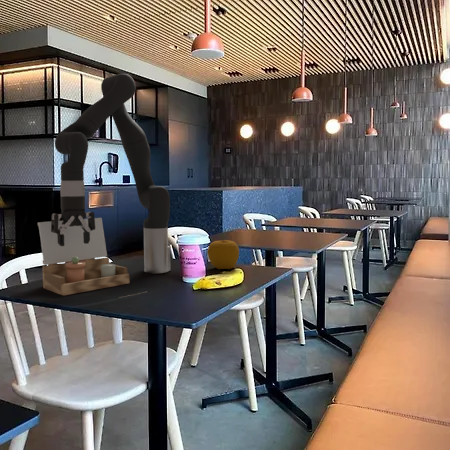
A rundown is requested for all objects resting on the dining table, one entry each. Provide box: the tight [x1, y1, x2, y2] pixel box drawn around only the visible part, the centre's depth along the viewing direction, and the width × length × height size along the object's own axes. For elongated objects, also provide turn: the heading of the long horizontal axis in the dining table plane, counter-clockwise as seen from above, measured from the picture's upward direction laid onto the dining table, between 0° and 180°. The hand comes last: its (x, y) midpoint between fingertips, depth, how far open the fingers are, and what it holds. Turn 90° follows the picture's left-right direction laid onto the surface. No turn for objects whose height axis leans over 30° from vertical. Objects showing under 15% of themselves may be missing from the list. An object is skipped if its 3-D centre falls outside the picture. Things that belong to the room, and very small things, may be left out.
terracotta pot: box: [65, 257, 85, 283], centre depth 162 cm, size 6×6×10 cm
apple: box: [207, 239, 240, 270], centre depth 198 cm, size 13×13×11 cm
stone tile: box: [116, 291, 148, 299], centre depth 159 cm, size 11×11×1 cm
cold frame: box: [41, 257, 131, 296], centre depth 166 cm, size 24×18×18 cm
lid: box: [37, 217, 108, 266], centre depth 170 cm, size 23×14×1 cm
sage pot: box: [101, 263, 116, 278], centre depth 169 cm, size 5×5×6 cm
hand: (74, 244), depth 161 cm, fingers open, 8 cm apart
